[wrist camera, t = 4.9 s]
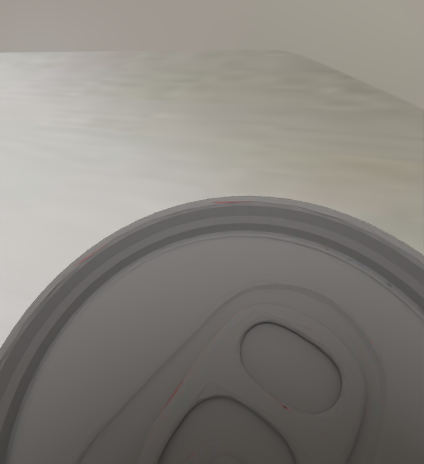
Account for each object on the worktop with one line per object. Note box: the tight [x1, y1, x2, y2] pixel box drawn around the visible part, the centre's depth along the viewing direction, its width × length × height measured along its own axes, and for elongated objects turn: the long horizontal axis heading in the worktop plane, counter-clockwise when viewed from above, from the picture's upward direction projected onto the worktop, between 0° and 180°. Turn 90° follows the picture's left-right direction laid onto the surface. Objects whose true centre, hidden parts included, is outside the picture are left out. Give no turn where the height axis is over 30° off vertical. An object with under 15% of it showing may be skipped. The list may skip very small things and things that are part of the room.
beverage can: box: [0, 196, 424, 464], centre depth 8 cm, size 7×7×12 cm
